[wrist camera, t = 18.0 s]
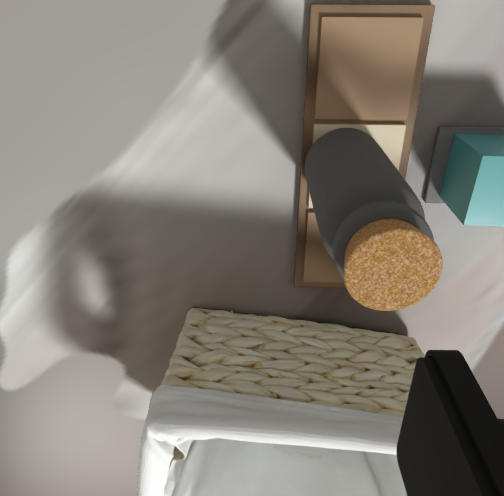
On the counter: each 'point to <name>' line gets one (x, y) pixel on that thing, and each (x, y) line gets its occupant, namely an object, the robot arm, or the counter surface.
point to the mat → (443, 153)
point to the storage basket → (277, 410)
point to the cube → (475, 179)
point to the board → (358, 99)
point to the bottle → (371, 221)
